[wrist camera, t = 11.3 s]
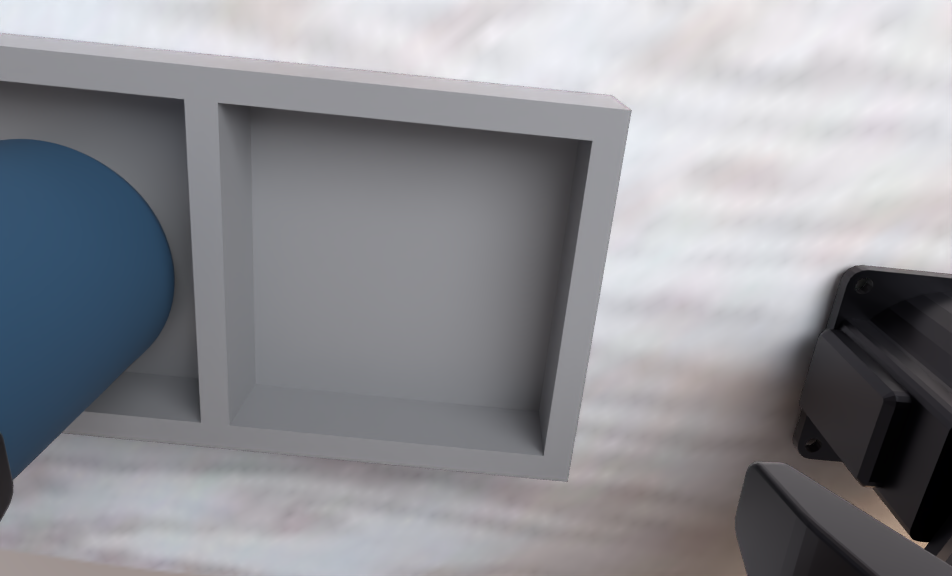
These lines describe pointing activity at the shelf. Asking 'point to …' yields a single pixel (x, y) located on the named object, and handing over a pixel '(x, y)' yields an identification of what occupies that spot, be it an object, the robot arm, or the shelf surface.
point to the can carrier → (346, 251)
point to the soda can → (71, 288)
